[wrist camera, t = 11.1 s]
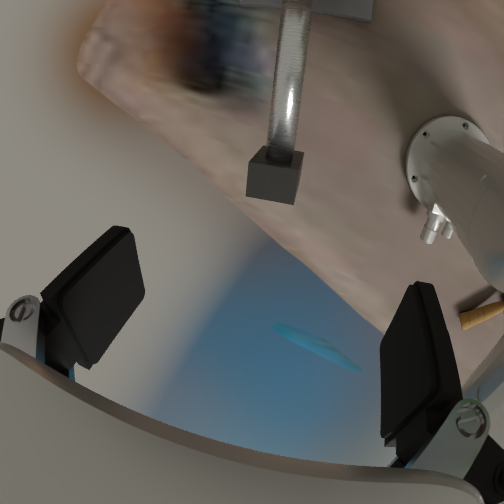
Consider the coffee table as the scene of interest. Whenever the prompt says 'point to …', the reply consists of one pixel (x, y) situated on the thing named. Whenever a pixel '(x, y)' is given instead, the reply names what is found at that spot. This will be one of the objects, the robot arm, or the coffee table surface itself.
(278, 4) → the base board
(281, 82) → the shaft
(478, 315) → the kendama
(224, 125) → the coffee table surface
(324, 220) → the coffee table surface
